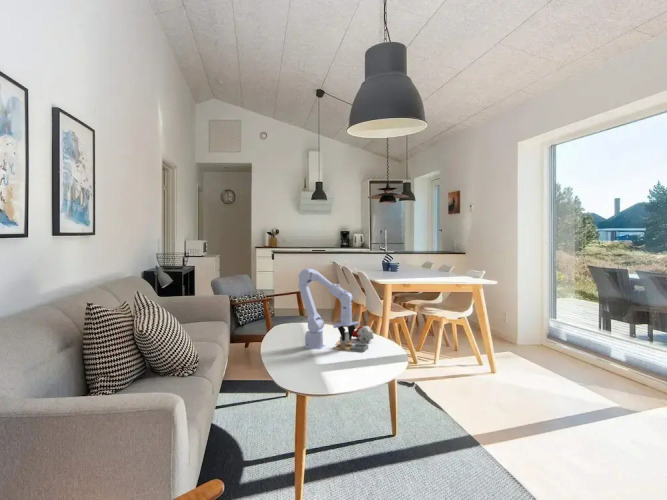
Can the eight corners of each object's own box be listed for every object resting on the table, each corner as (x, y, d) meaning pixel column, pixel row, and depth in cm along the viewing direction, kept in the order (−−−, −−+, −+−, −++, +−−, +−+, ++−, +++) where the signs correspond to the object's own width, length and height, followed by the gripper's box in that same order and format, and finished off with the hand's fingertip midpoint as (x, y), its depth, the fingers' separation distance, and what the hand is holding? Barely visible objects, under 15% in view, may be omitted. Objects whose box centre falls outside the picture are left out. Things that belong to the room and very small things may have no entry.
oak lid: (334, 345, 241) (334, 342, 241) (338, 341, 250) (338, 338, 250) (350, 346, 239) (350, 343, 239) (353, 342, 248) (353, 339, 248)
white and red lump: (373, 343, 242) (348, 344, 248) (379, 338, 253) (355, 339, 258) (371, 327, 242) (346, 329, 248) (377, 323, 253) (353, 324, 258)
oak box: (334, 350, 232) (334, 347, 232) (340, 346, 240) (340, 343, 240) (349, 351, 228) (349, 348, 228) (355, 347, 236) (355, 344, 236)
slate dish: (350, 351, 229) (350, 346, 229) (355, 347, 236) (355, 343, 236) (364, 352, 226) (363, 348, 226) (368, 349, 233) (368, 344, 233)
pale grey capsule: (342, 343, 231) (342, 333, 231) (344, 341, 234) (344, 331, 234) (348, 343, 230) (347, 333, 229) (350, 342, 233) (350, 332, 232)
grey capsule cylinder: (339, 347, 235) (338, 337, 235) (341, 345, 239) (341, 336, 238) (344, 347, 234) (344, 338, 234) (347, 346, 237) (346, 336, 237)
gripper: (336, 317, 224) (337, 343, 225) (361, 315, 230) (361, 340, 231) (331, 315, 231) (332, 339, 232) (356, 312, 236) (356, 337, 237)
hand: (346, 339), depth 231 cm, fingers closed on pale grey capsule, 3 cm apart
